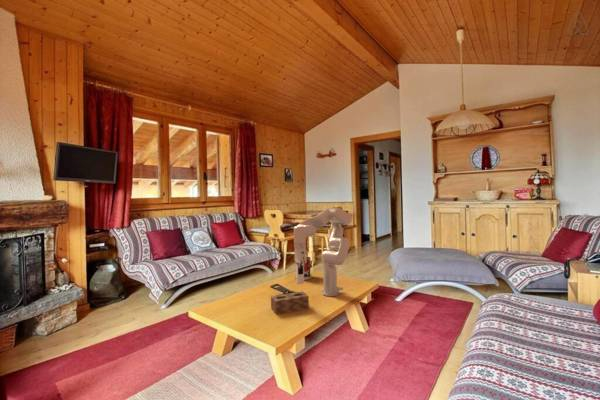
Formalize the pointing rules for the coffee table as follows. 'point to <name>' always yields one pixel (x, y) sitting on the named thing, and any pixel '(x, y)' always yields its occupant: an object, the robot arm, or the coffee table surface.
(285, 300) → the slotted wooden block
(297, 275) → the pinkish wooden bar
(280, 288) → the zipper pull
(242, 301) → the coffee table surface
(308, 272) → the santa figurine
